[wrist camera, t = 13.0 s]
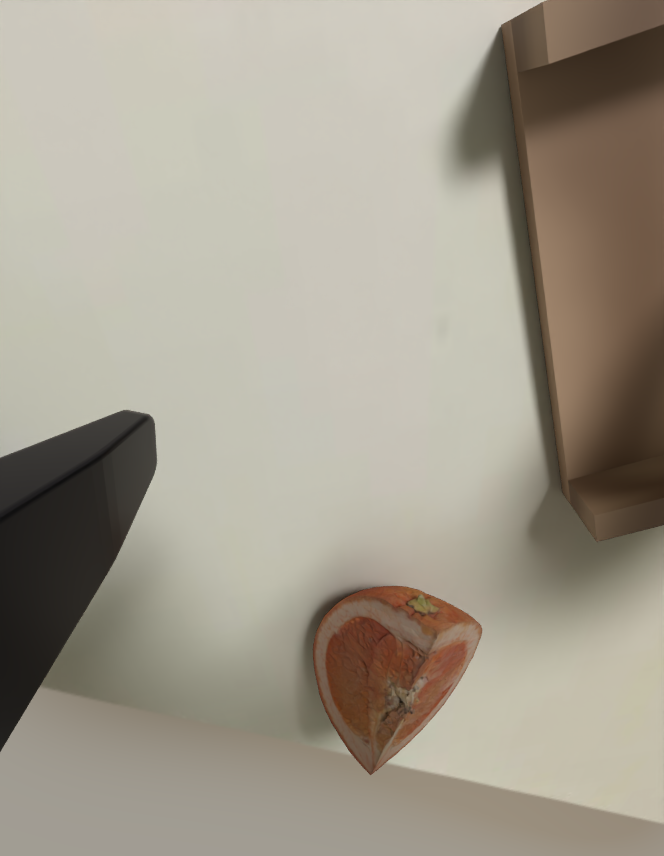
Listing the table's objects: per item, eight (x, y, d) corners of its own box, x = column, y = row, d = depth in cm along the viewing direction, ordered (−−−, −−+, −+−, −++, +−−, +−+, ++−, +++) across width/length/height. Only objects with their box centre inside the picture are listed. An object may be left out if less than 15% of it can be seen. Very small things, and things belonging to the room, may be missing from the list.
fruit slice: (345, 527, 23) (353, 621, 18) (495, 557, 24) (537, 653, 19) (296, 662, 27) (294, 768, 22) (428, 683, 28) (450, 788, 23)
